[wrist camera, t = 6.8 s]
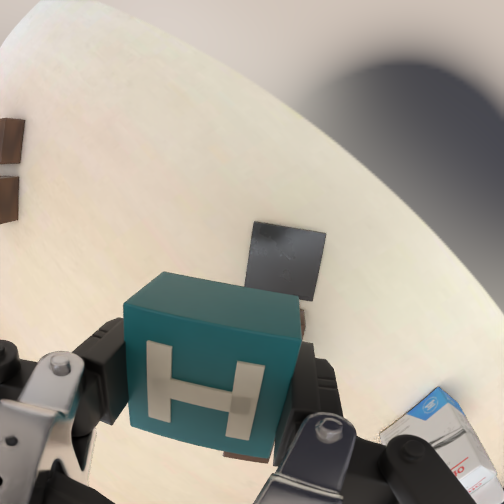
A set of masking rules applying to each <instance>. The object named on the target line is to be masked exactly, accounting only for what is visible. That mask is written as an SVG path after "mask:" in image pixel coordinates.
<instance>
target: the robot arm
mask: <svg viewBox="0 0 504 504" xmlns="http://www.w3.org/2000/svg"><path fill="white" fill-rule="evenodd" d="M128 401H129V393H128V380H127V364H126V341H124V318H116V319H114V320H111V321H108V322H106V323H105V324H104V325H103V326H102V327H100V328H99V331H98V330H97V331H96V332H95V333H93V334H92V336H90V337H89V338H88V339H87V340H85V341H84V342H83V343H82V344H81V345H80V346H78V347H77V348H76V349H75V350H74V351H73V352H72V353H71V352H66V351H56V352H52V353H49V354H46V355H45V356H43V357H42V358H41V359H40V360H39V362H33V361H27V360H22V359H19V354H18V350H17V347H16V346H15V344H13V343H12V342H9V341H6V340H0V504H115V503H113V502H112V501H110V500H109V499H107V498H106V497H105V496H103V495H102V494H100V493H99V492H98V491H96V490H95V489H93V488H91V487H89V485H88V479H89V472H90V466H91V461H92V455H93V450H94V445H95V440H96V434H97V433H96V428H95V426H96V425H97V424H98V422H99V421H102V422H104V423H107V424H110V425H113V423H114V422H115V420H116V419H117V417H118V416H119V415H120V413H121V412H122V410H123V409H124V407H125V406H126V404H127V403H128ZM273 466H278V469H277V470H276V472H275V474H274V473H272V474H271V476H270V477H269V479H268V480H267V482H266V483H265V485H264V487H263V488H262V490H261V492H260V493H259V495H258V497H257V498H256V500H255V501H254V503H253V504H477V503H476V502H475V500H474V499H473V498H472V497H471V495H470V494H469V493H468V491H467V490H466V489H465V488H464V486H463V485H462V484H461V482H460V481H459V480H458V479H457V477H456V476H455V475H454V473H453V472H452V471H451V470H450V468H449V467H448V466H447V465H446V463H445V462H444V461H443V459H442V458H441V457H440V456H439V454H438V453H437V452H436V451H435V449H434V448H433V447H432V446H431V445H430V443H428V442H427V441H426V440H424V439H422V438H420V437H418V436H415V435H409V434H403V435H398V436H395V437H393V438H392V439H391V440H390V441H389V442H388V444H387V446H386V445H382V444H378V443H374V442H371V441H367V440H364V439H362V438H360V437H358V436H356V430H355V428H354V426H353V425H352V424H351V423H350V422H349V421H348V420H347V419H345V418H344V417H343V413H342V407H341V402H340V397H339V392H338V389H337V382H336V377H335V372H334V368H333V367H332V366H331V365H330V364H329V363H328V361H327V360H326V359H318V358H315V355H314V347H313V343H308V342H301V346H300V350H299V354H298V358H297V362H296V366H295V370H294V374H293V377H292V379H291V382H290V386H289V390H288V393H287V397H286V400H285V404H284V407H283V411H282V414H281V418H280V421H279V425H278V428H277V431H276V435H275V448H274V460H273Z"/></svg>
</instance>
